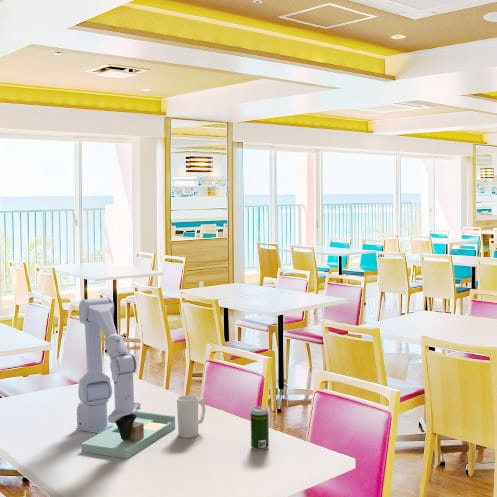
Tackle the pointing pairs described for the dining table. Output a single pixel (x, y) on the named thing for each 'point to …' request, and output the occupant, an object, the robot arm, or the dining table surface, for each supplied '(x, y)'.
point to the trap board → (116, 447)
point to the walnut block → (136, 432)
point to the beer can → (259, 428)
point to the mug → (189, 415)
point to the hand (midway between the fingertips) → (125, 439)
